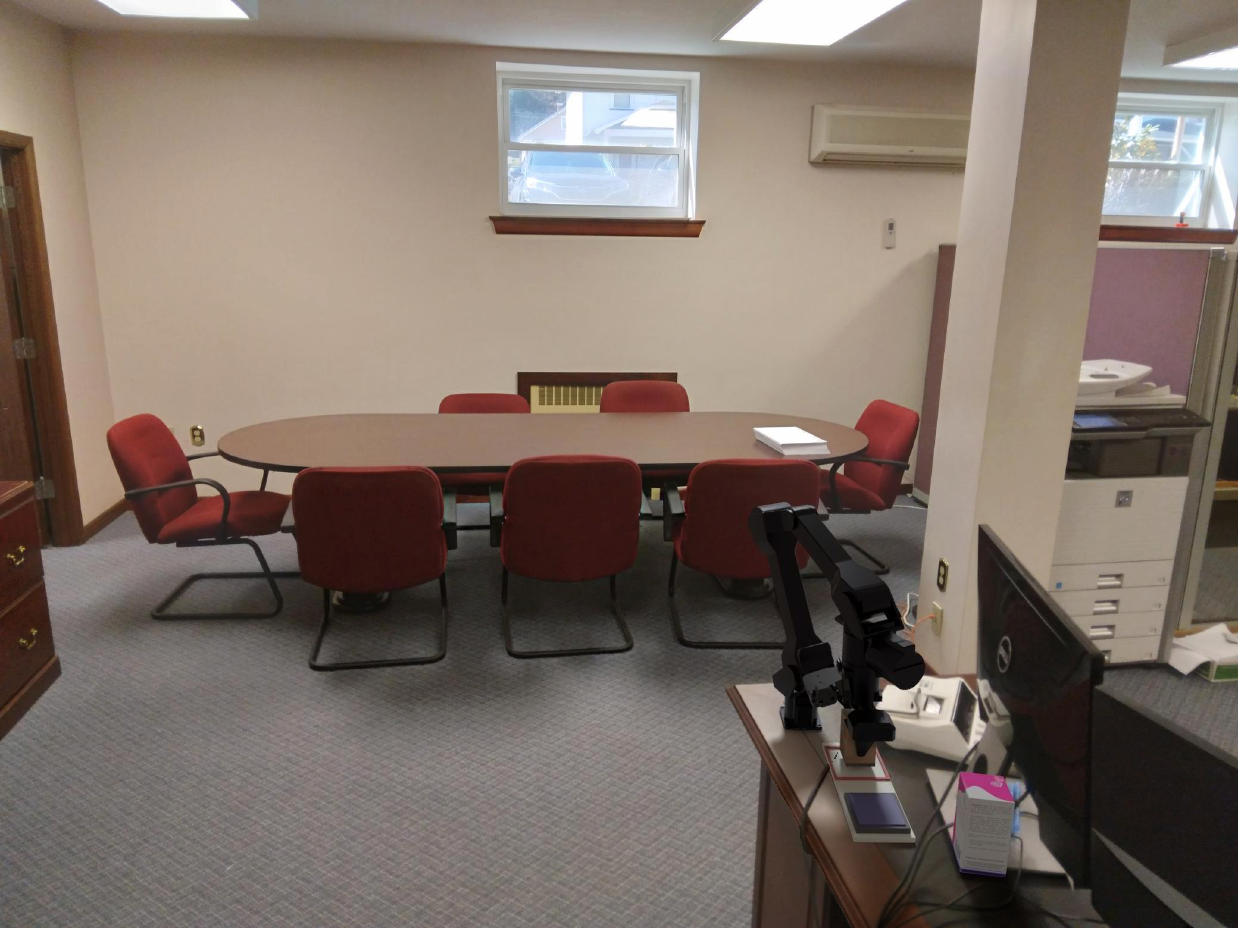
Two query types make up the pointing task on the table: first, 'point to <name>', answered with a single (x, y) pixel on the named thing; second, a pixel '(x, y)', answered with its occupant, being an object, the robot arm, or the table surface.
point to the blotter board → (868, 800)
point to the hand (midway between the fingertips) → (856, 746)
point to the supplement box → (982, 824)
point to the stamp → (853, 747)
